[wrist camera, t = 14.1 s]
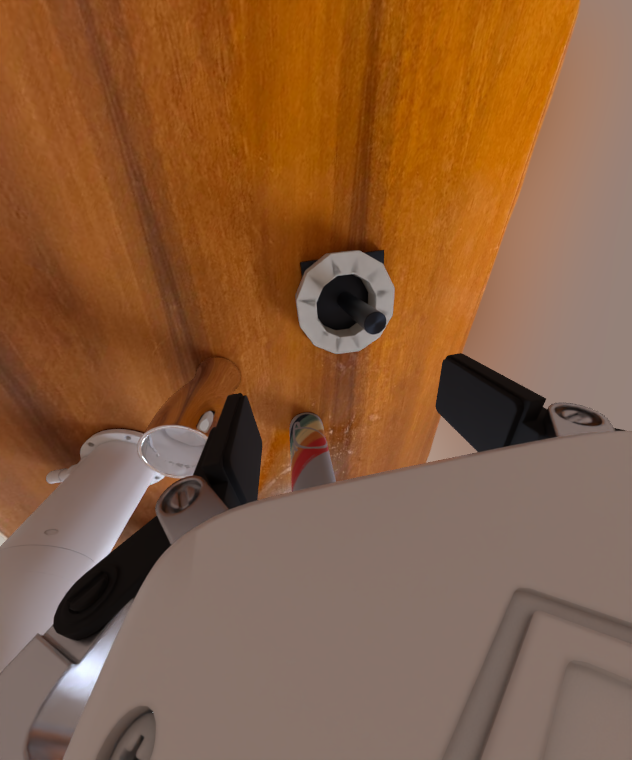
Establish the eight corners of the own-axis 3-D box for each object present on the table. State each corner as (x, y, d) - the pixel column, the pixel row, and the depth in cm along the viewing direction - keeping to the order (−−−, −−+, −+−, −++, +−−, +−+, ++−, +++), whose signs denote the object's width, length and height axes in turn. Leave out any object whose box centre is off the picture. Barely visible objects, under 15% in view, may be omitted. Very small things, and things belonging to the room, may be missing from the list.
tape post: (311, 340, 32) (324, 383, 22) (299, 262, 27) (310, 267, 17) (379, 329, 33) (424, 365, 22) (380, 250, 28) (439, 248, 17)
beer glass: (183, 374, 33) (116, 455, 20) (215, 343, 31) (166, 409, 18) (222, 403, 36) (187, 490, 23) (254, 376, 34) (236, 452, 21)
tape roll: (302, 350, 32) (304, 358, 29) (290, 257, 26) (290, 257, 23) (382, 339, 32) (390, 346, 30) (386, 246, 27) (397, 245, 24)
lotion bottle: (304, 405, 38) (322, 535, 20) (328, 422, 40) (363, 550, 23) (282, 427, 39) (282, 564, 22) (307, 441, 42) (324, 575, 24)
